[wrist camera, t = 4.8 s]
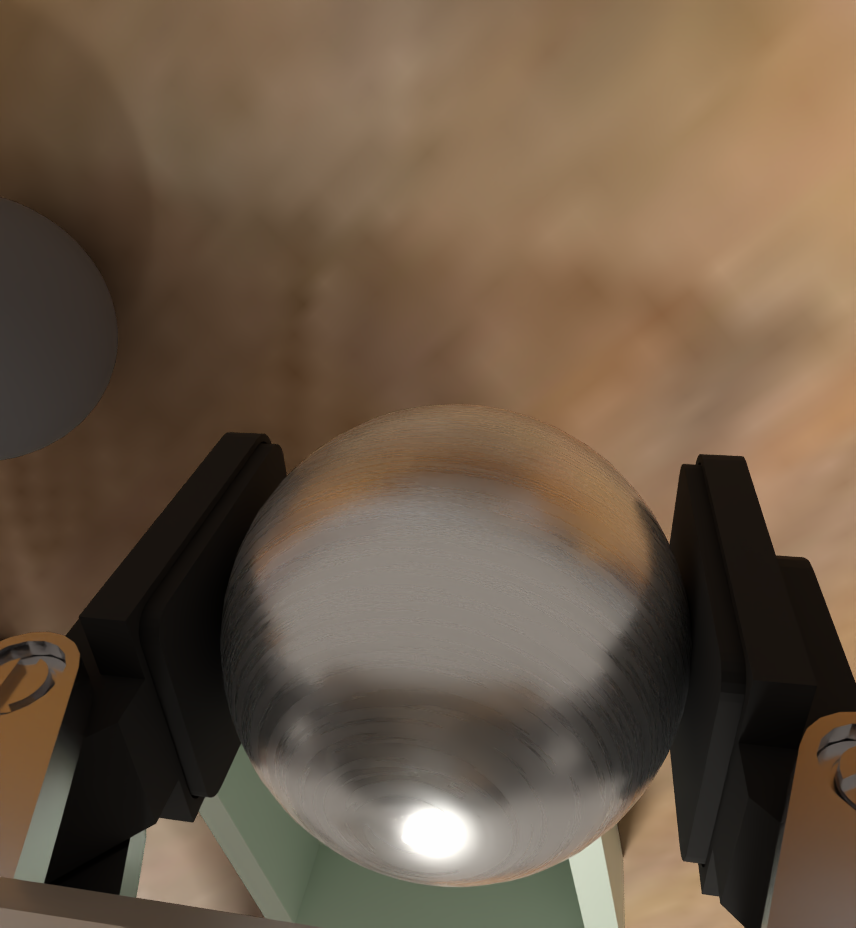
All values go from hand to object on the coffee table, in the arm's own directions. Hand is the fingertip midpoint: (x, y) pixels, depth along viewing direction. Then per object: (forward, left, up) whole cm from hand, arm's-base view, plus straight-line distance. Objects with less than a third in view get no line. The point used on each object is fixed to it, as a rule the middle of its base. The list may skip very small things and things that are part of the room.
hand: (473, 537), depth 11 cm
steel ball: (0, 0, -1) cm, 1 cm away
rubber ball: (+3, +11, -7) cm, 13 cm away
